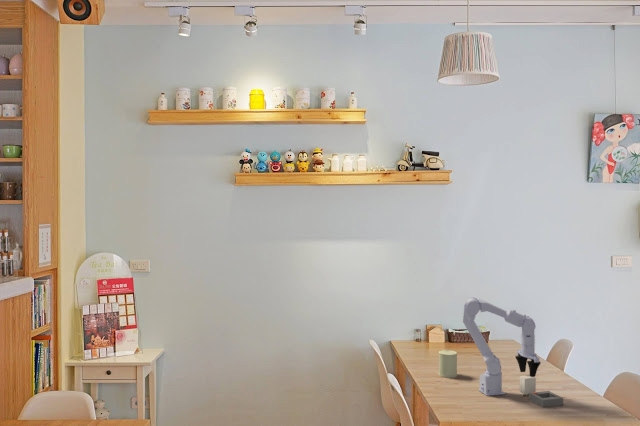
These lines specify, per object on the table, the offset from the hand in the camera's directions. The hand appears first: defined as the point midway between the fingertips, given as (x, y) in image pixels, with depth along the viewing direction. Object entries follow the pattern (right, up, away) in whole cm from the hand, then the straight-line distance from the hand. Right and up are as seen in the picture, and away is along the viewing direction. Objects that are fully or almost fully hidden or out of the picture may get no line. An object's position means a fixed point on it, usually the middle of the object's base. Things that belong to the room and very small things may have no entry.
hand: (527, 374), depth 269 cm
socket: (+4, -10, -10) cm, 14 cm away
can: (-29, -9, +31) cm, 44 cm away
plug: (0, -9, 0) cm, 9 cm away
